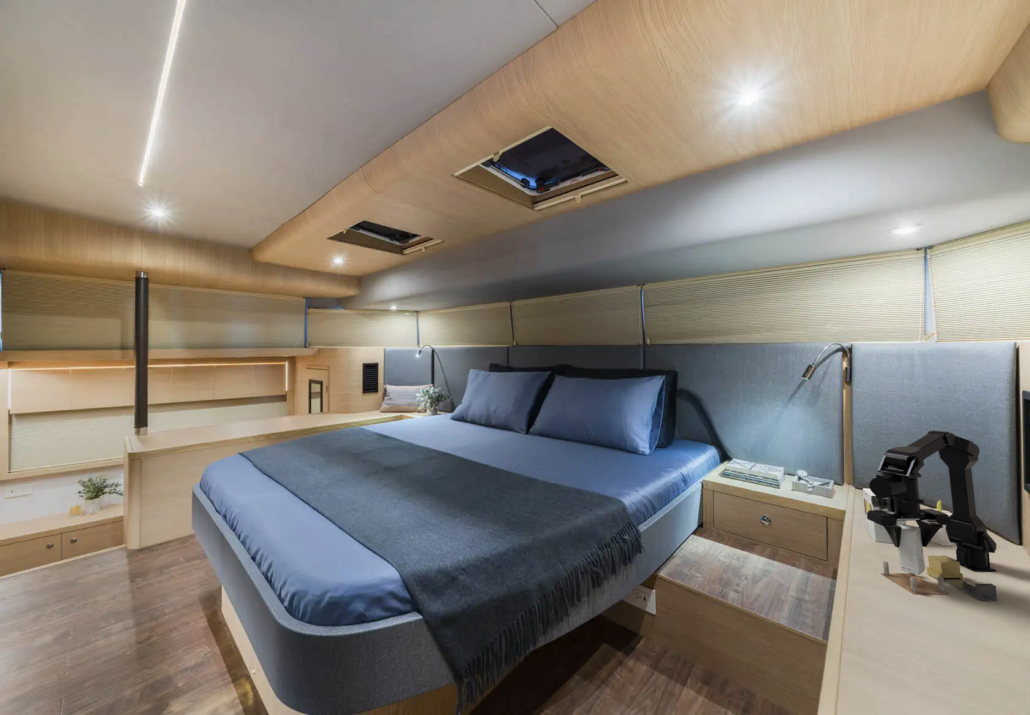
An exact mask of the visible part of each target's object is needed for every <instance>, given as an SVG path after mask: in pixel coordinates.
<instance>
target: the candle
mask: <svg viewBox="0 0 1030 715" xmlns="http://www.w3.org/2000/svg"><path fill="white" fill-rule="evenodd" d="M933 509H934V510H937V511H940V512H942V513H945V514H947V515H948V516H949V517H950V516H951V515H952V514H953V512H951V511H948V510H944V509H943V507H942V500H941V499H939V500H938V501H937V503H936V508H933ZM942 526H943V528H940V529H939V530H938V531H937V533H936V534H935V535H934V536H933V538H932V539H931V541H930V542H932V543H934V544H938V545H943V546H948V547H949V546H955V545H956V543H951V542H950V541H949V538H948V535H947V533H946V525H942Z"/></svg>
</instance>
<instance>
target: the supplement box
mask: <svg viewBox="0 0 1030 715" xmlns="http://www.w3.org/2000/svg"><path fill="white" fill-rule="evenodd" d="M862 496H863V508H864V510H863V511H864V520H865V521H864V523H865V524H864V525H865V532H866V533H867V534H868V536H870V538H871V539H872V540H873V541H874V542H876V543H883V544H884V543H886V544H893V542H892V540H891V538H890V536H889V534H888V533H887V531H886V529H885V528H884V527H883V526H881V525H879V524H877V523H875V522H873V521H870V520H868V519H867V512H868V511H869V510H880V509H879V506H877V507H874V506H873V505H872V502H871V496H876V495H875V494H873V493H872V491H871V490H870V488H862ZM883 499H888V498H883ZM882 511H885V512H887V513H889V514H894V512H890V511H888V509H883V510H882ZM901 524H905V525H907V521H897V525H898V526H899V525H901ZM893 545H894V544H893Z"/></svg>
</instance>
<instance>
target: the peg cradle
mask: <svg viewBox="0 0 1030 715" xmlns="http://www.w3.org/2000/svg"><path fill="white" fill-rule="evenodd" d="M882 565H883V566H882V568H883V573H880V574H881V575H882V576H883V577H885V578H886V579H889V580H890V581H892V582H893V583H895V584H897V585H898V586H900V587H901V588H903V589H904V590H906V591H908V592H909V593H911V594H912V595H950V594H949V592H947V591H946V586H945V582H944V578H942V577H938V579H937V583H938V584H937V585H938V586H936V585H935V584H932V583H931V582H929V581H927V580H925V579H924V578H922V577H920V576H919V575H916V574H912V573H909V572H904V573H902V572H901V573H891V572H890V568H889V567H890V566H889V562H888V561H882Z"/></svg>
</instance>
